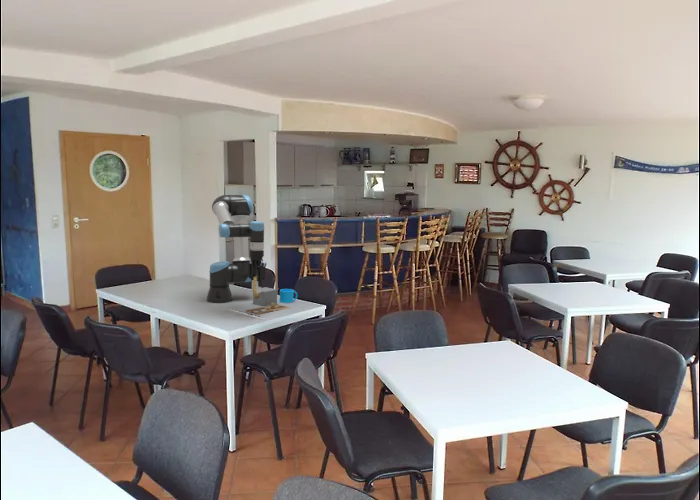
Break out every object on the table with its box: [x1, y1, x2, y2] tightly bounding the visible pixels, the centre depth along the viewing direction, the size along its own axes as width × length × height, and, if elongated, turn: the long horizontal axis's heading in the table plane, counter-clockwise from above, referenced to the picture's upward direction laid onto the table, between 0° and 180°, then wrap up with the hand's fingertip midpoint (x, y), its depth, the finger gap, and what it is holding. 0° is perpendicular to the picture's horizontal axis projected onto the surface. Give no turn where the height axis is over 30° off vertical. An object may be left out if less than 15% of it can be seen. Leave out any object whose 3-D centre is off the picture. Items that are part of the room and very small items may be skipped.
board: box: [261, 303, 292, 312], centre depth 301 cm, size 12×12×4 cm
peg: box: [252, 275, 260, 299], centre depth 288 cm, size 3×3×12 cm
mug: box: [279, 288, 298, 304], centre depth 318 cm, size 12×8×8 cm
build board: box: [245, 306, 275, 318], centre depth 292 cm, size 11×11×2 cm
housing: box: [252, 286, 278, 307], centre depth 310 cm, size 10×10×10 cm
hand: (256, 291), depth 288 cm, fingers closed on peg, 3 cm apart
